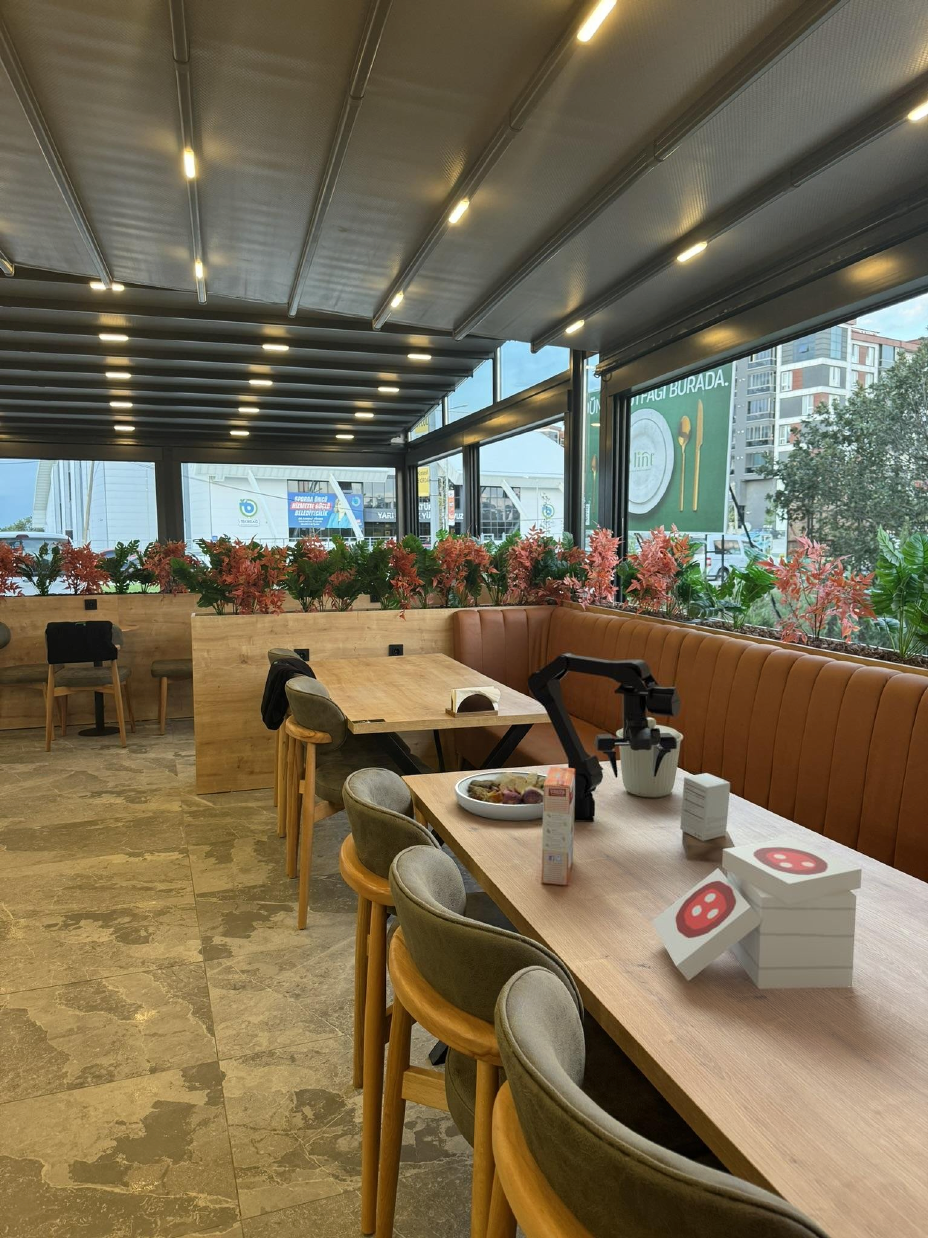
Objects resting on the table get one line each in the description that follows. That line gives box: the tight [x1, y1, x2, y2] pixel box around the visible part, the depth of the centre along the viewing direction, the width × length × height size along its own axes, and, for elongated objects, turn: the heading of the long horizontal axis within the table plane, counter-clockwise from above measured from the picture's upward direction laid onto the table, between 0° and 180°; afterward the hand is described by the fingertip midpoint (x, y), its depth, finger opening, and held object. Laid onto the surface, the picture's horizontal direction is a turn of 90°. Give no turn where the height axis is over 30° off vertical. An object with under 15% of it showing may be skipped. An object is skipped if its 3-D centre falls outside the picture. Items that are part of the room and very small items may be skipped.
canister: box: [615, 716, 684, 798], centre depth 224 cm, size 18×18×21 cm
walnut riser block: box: [681, 830, 736, 863], centre depth 181 cm, size 10×10×4 cm
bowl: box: [454, 770, 547, 821], centre depth 214 cm, size 30×30×8 cm
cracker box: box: [541, 766, 575, 887], centre depth 169 cm, size 14×6×21 cm, turn 168°
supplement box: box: [679, 772, 731, 841], centre depth 182 cm, size 7×7×13 cm
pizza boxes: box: [651, 836, 862, 990], centre depth 132 cm, size 19×30×18 cm, turn 92°
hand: (635, 776), depth 195 cm, fingers open, 9 cm apart
